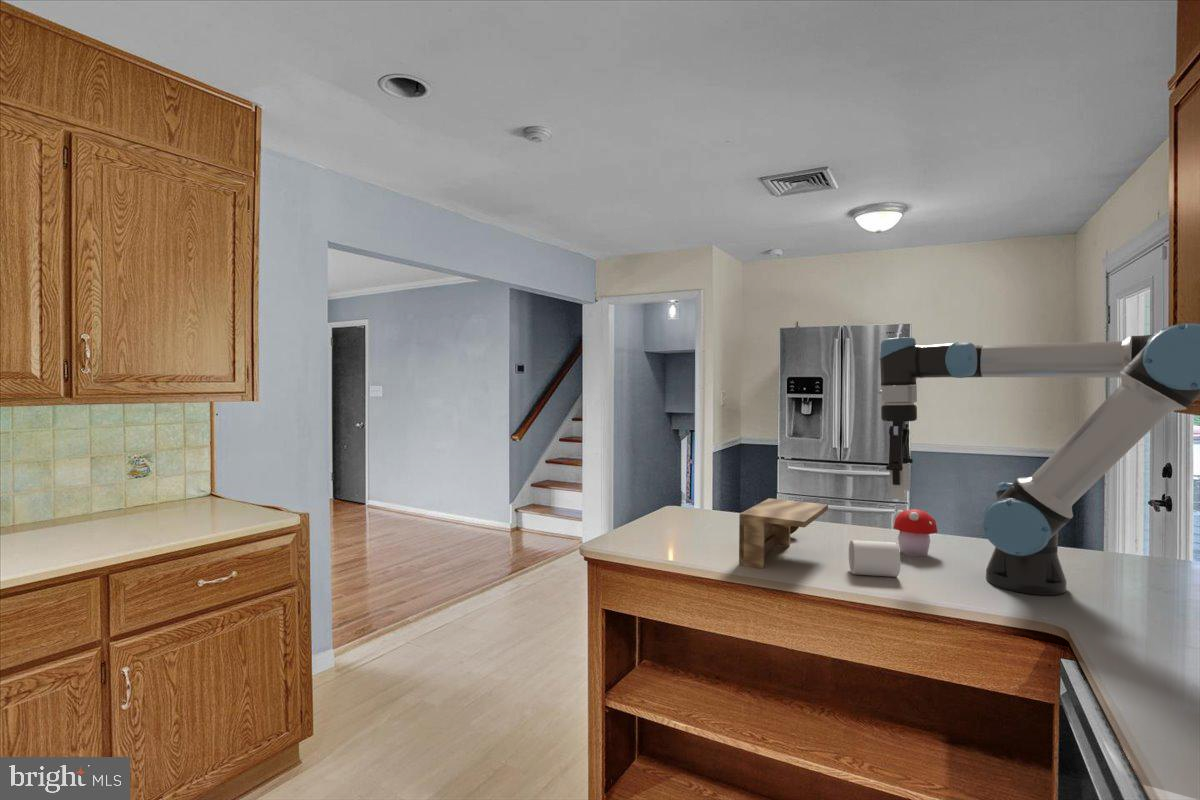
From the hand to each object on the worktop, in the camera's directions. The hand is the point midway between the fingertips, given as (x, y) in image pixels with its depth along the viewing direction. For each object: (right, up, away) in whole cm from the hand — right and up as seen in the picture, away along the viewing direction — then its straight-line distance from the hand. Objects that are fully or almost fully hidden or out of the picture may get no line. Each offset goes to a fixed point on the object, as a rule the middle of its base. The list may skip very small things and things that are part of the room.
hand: (900, 494), depth 146 cm
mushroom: (+14, -19, +21) cm, 32 cm away
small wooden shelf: (-22, -19, +16) cm, 33 cm away
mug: (-5, -20, +5) cm, 21 cm away
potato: (-16, -19, +38) cm, 46 cm away
